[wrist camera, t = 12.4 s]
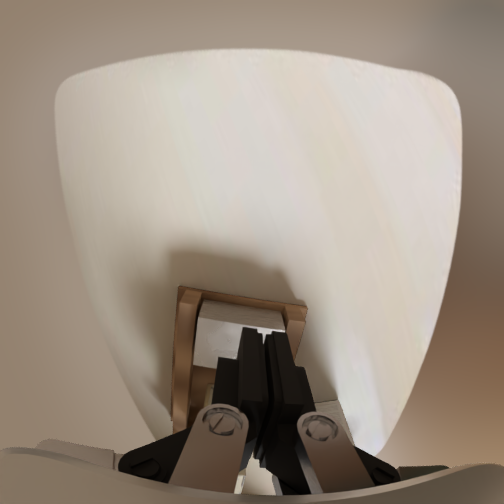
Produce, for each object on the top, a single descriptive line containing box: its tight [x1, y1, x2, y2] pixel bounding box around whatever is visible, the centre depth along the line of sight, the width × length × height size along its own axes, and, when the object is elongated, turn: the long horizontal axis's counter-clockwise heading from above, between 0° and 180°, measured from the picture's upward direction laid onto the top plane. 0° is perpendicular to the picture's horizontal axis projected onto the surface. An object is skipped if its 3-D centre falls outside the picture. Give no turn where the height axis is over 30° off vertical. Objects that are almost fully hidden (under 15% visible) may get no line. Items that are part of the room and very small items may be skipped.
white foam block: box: [193, 299, 285, 369], centre depth 26 cm, size 5×7×4 cm
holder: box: [171, 286, 308, 458], centre depth 28 cm, size 19×13×5 cm, turn 170°
